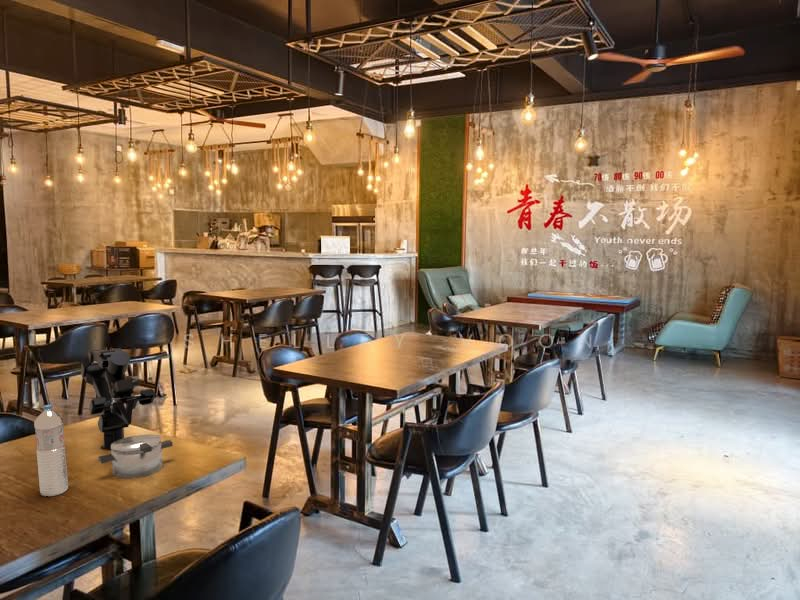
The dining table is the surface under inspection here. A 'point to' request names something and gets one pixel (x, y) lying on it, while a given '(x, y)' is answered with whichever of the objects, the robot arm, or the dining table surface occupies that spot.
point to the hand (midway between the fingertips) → (129, 423)
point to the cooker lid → (136, 443)
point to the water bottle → (51, 453)
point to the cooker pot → (136, 461)
